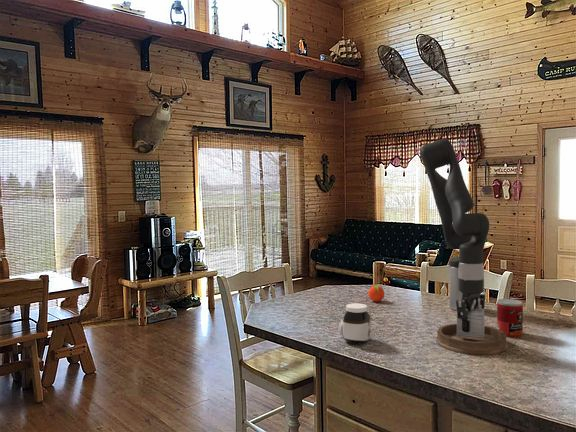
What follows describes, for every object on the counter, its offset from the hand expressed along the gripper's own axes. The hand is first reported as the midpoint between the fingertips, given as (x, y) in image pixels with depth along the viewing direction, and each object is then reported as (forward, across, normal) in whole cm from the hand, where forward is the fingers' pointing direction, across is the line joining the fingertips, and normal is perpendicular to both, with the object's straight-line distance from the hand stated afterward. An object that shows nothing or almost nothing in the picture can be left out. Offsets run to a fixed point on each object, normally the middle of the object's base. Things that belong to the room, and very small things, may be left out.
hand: (471, 329), depth 151 cm
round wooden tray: (+5, 0, 0) cm, 5 cm away
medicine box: (+2, 0, 0) cm, 2 cm away
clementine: (+5, -23, -56) cm, 61 cm away
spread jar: (+5, +23, -29) cm, 37 cm away
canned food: (+5, -18, +4) cm, 19 cm away
